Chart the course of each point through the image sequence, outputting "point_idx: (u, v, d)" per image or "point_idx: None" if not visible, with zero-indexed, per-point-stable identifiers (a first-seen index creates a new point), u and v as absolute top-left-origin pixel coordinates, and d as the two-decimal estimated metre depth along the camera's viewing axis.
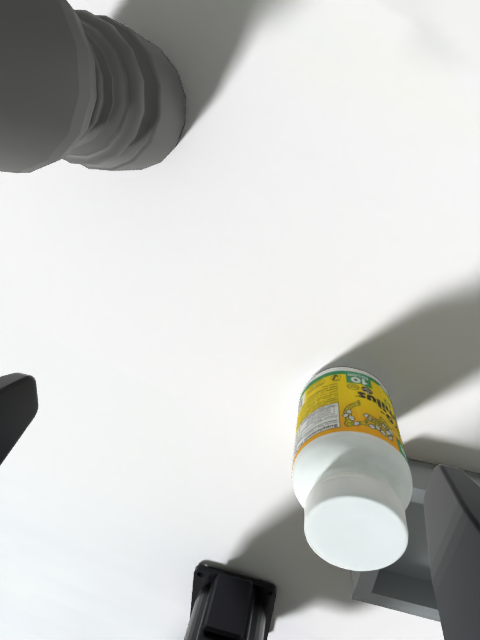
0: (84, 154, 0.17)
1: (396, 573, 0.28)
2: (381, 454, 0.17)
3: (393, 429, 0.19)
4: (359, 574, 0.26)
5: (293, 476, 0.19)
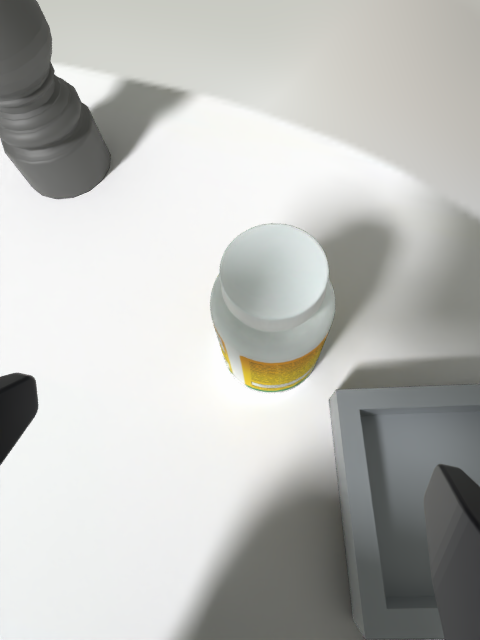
0: (32, 128, 0.24)
1: (418, 596, 0.18)
2: None
3: None
4: (357, 575, 0.17)
5: (211, 304, 0.17)
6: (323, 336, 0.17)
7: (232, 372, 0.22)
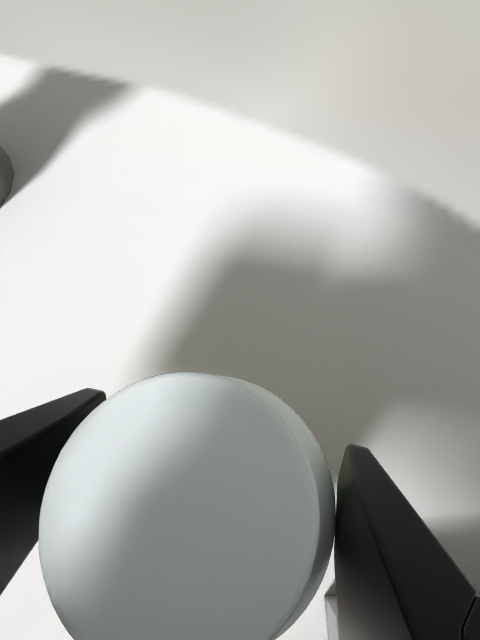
0: None
1: None
2: None
3: None
4: None
5: None
6: (309, 601, 0.07)
7: None
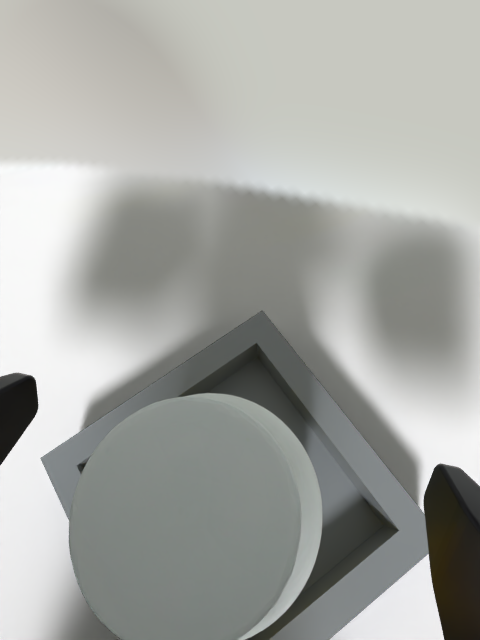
0: None
1: (247, 639, 0.14)
2: (235, 401, 0.10)
3: None
4: None
5: None
6: (299, 592, 0.09)
7: None
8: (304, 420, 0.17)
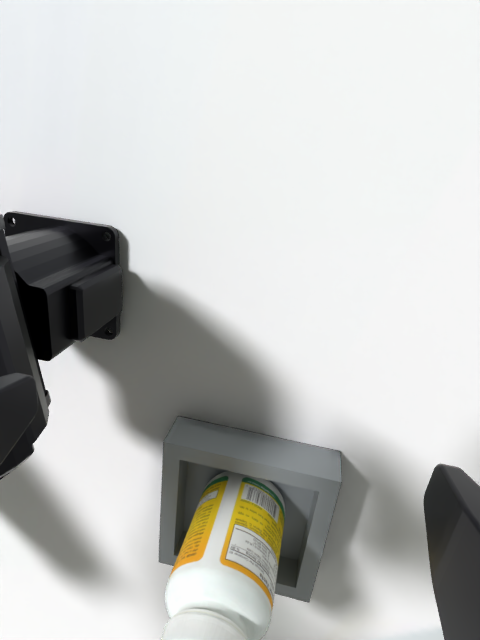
0: None
1: (187, 462, 0.26)
2: None
3: None
4: (200, 448, 0.23)
5: (247, 587, 0.19)
6: None
7: (240, 484, 0.24)
8: None
